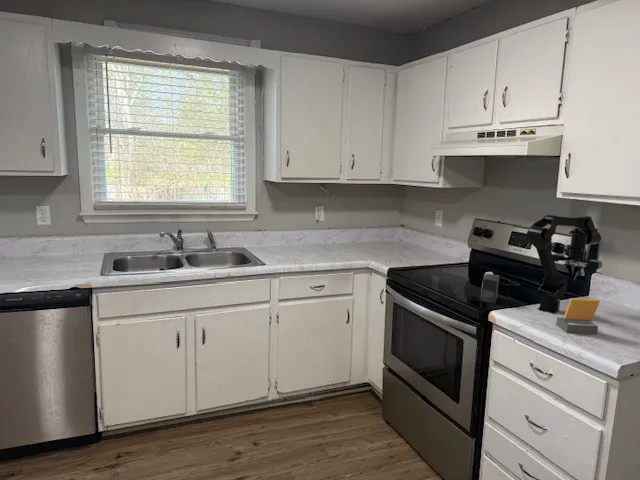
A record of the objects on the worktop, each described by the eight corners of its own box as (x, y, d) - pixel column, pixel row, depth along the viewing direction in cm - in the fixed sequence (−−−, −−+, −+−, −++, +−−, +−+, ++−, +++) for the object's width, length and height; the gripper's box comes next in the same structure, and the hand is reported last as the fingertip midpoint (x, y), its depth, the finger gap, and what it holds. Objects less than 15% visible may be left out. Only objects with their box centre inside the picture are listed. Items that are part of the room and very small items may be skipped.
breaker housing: (556, 324, 176) (557, 316, 175) (584, 326, 176) (586, 318, 175) (566, 332, 168) (567, 324, 167) (596, 334, 168) (598, 326, 167)
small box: (482, 295, 211) (484, 273, 209) (497, 297, 208) (500, 275, 206) (479, 301, 201) (482, 278, 199) (495, 303, 199) (498, 280, 197)
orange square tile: (562, 318, 172) (570, 297, 167) (590, 320, 172) (598, 299, 167) (563, 320, 171) (571, 299, 166) (591, 322, 171) (600, 301, 166)
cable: (512, 279, 245) (513, 273, 245) (521, 287, 229) (522, 281, 229) (482, 276, 247) (483, 270, 247) (489, 284, 231) (489, 278, 231)
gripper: (608, 246, 193) (602, 282, 196) (561, 239, 206) (556, 273, 209) (600, 249, 185) (594, 286, 188) (552, 241, 198) (547, 276, 201)
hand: (572, 280), depth 197 cm, fingers closed
